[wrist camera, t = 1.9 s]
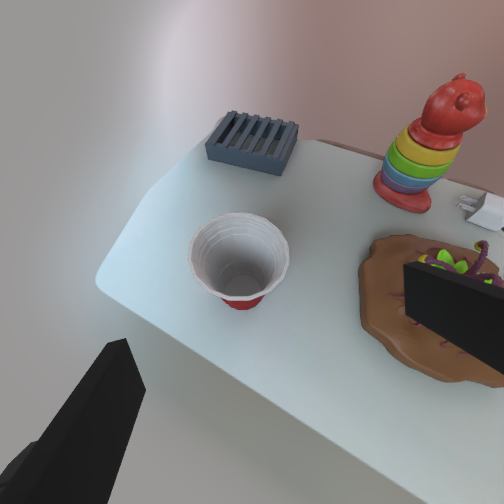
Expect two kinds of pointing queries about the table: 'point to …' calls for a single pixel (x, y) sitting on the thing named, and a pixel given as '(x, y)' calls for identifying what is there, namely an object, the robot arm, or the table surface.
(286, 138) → the dish rack
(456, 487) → the table surface
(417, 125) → the stacking bear
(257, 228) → the plastic cup
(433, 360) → the plant
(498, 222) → the usb wall charger
